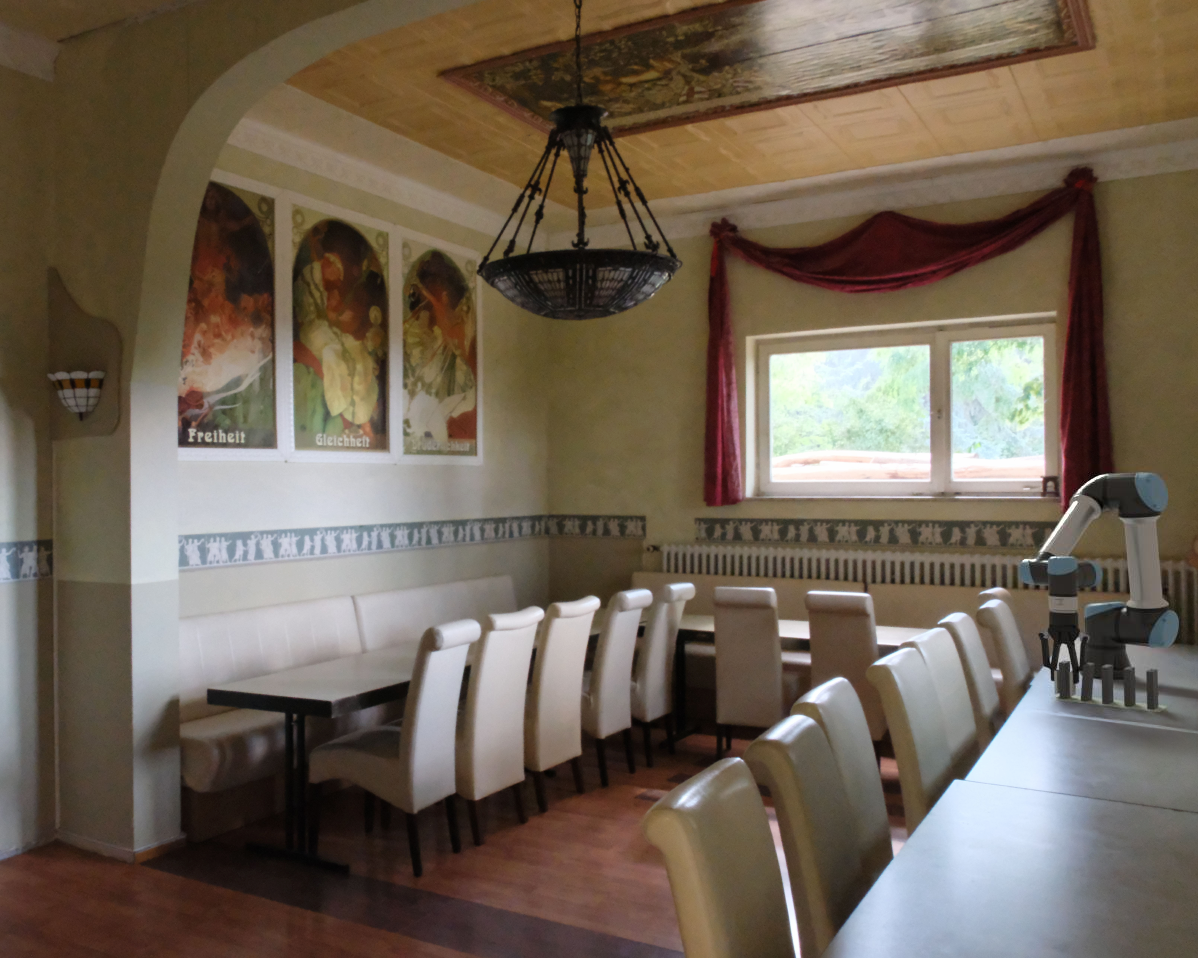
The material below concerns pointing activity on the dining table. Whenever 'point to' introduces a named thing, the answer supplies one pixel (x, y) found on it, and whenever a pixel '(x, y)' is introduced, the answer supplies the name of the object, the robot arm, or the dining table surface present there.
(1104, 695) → the domino
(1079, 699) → the strip
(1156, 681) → the domino
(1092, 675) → the domino
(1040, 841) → the dining table surface
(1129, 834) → the dining table surface
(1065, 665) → the domino
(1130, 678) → the domino
